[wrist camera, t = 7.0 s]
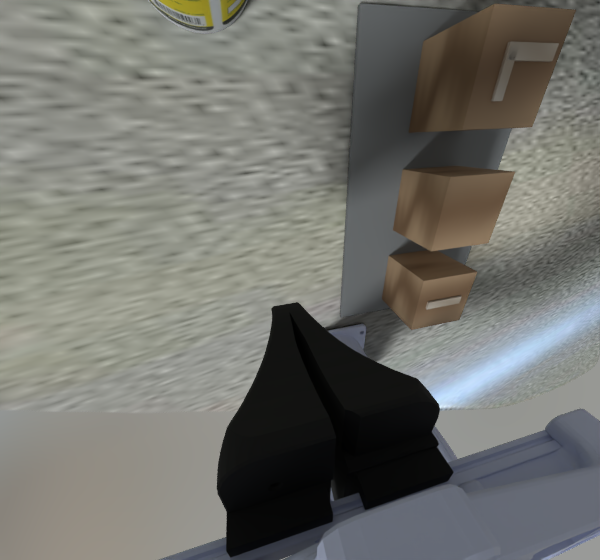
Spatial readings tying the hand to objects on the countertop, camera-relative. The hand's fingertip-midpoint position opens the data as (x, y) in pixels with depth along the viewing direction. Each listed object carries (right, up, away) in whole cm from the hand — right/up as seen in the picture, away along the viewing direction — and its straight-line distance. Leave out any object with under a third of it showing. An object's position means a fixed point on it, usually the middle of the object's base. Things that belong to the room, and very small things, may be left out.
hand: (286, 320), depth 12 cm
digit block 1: (+12, +3, +13) cm, 17 cm away
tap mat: (+11, +9, +9) cm, 17 cm away
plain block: (+11, +9, +9) cm, 17 cm away
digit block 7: (+11, +16, +5) cm, 20 cm away
